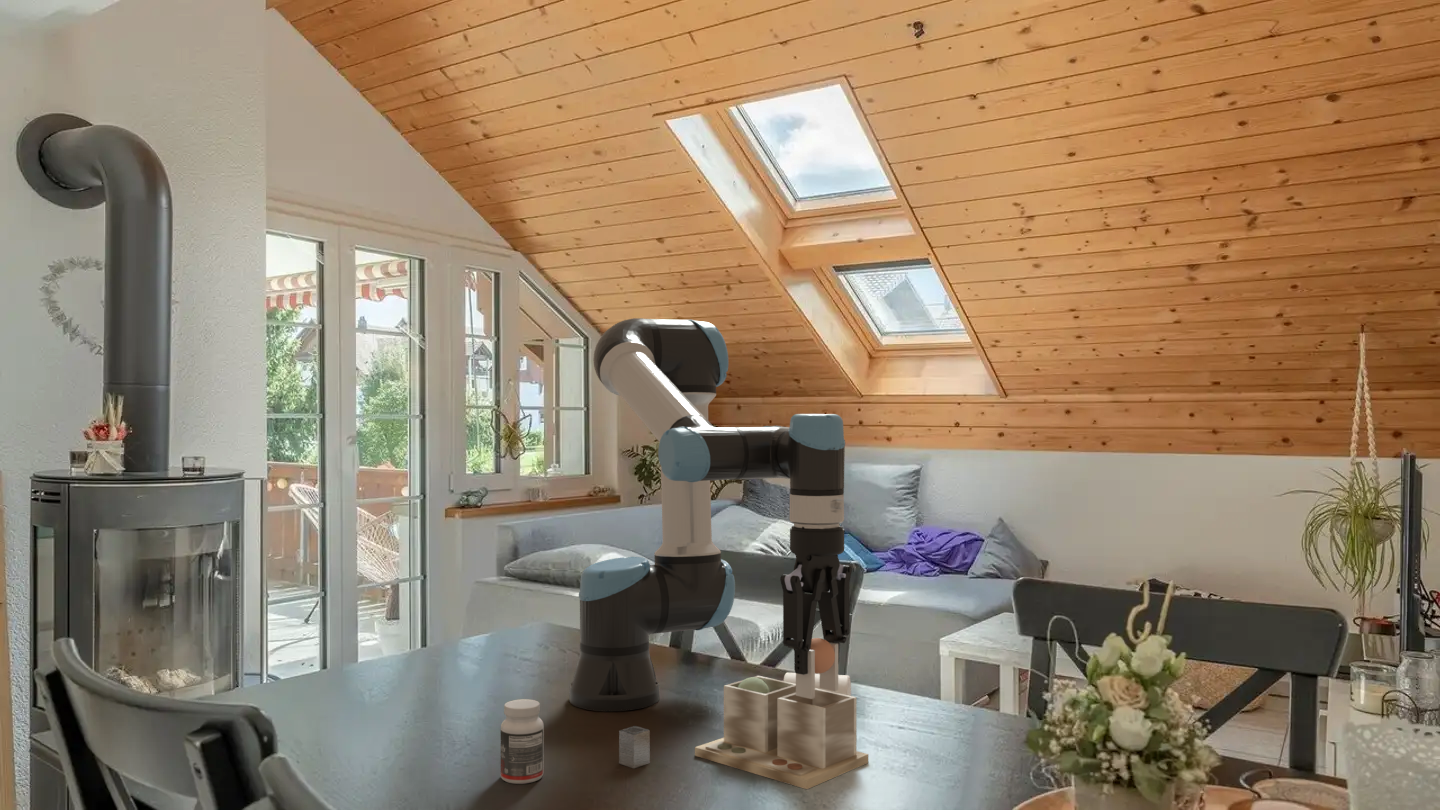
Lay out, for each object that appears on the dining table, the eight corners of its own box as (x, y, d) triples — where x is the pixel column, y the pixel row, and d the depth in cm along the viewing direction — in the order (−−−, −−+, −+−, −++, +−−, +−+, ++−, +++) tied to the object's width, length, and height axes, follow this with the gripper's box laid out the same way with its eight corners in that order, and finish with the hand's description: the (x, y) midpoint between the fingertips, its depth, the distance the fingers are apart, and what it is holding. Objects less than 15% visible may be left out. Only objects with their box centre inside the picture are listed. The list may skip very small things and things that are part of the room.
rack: (694, 755, 155) (694, 691, 155) (758, 733, 165) (758, 672, 165) (806, 789, 142) (806, 718, 142) (868, 762, 152) (868, 696, 152)
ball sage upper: (740, 720, 158) (724, 692, 158) (758, 701, 162) (742, 673, 161) (764, 715, 155) (747, 686, 154) (781, 696, 158) (765, 668, 158)
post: (619, 763, 152) (619, 730, 152) (634, 758, 154) (634, 725, 154) (634, 768, 150) (634, 734, 150) (649, 763, 152) (649, 730, 152)
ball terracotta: (793, 673, 151) (793, 638, 151) (814, 667, 155) (814, 633, 155) (821, 679, 148) (820, 643, 148) (841, 672, 151) (841, 638, 151)
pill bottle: (503, 771, 149) (503, 698, 149) (545, 769, 149) (545, 697, 149) (498, 785, 143) (498, 710, 143) (541, 784, 143) (542, 709, 143)
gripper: (798, 532, 142) (799, 711, 142) (875, 521, 155) (876, 685, 155) (754, 528, 147) (755, 700, 147) (833, 517, 160) (833, 676, 160)
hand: (817, 692), depth 151 cm, fingers closed on ball terracotta, 5 cm apart
